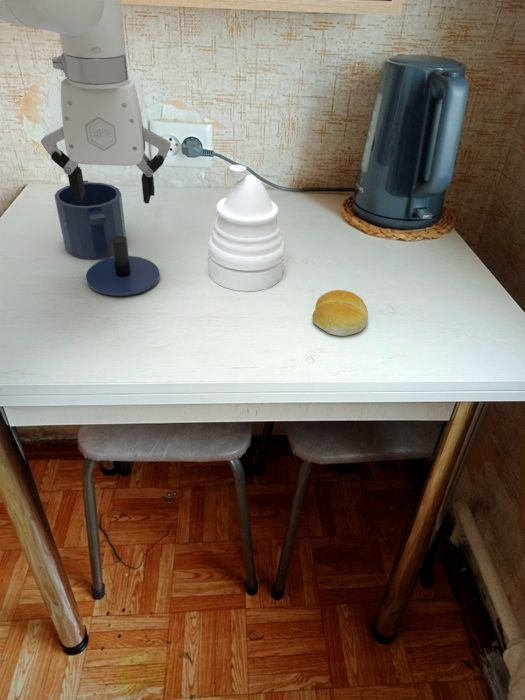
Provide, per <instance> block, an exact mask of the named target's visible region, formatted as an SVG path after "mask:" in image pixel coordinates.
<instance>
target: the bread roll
mask: <svg viewBox="0 0 525 700" xmlns="http://www.w3.org/2000/svg"><path fill="white" fill-rule="evenodd" d="M314 306H315V307H314V308H315V310H314V311H313V313H312V318H311V319H312V322H313V324H315V325H316V326H317V327H318V328H319V329H322V330H323V331H325V332H326V333H328V334H330V335H333V336H339V337H341V336H342V337H343V336H345V337H346V336H352V335H354V334H357V333H360V332H362V331H363V330H364V328H365V327H366V326H367V323H368V322H369V311H368V307H367V305H366V303H365V302H364V300H363V298H361V297H360V296H358V295H357V294H356V293H354V292H352V291H349V290H344V289H336V290H335V289H334V290H331V291H328V292H326V293H323V294H322V295H320V296H319V297H318V299H317V300H316V303H315V305H314Z"/></svg>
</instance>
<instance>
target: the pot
mask: <svg viewBox="0 0 525 700" xmlns="http://www.w3.org/2000/svg"><path fill="white" fill-rule="evenodd" d="M83 182H84V187H85V195H84V197H83V199H82V201H81V202H76V198H75V194H72V193H71V189H70V184H68V185H66V186H63V187H61V188H60V189H58V190H57V191H56V192H55V193H54V195H53V197H54V202H55V206H56V211H57V216H58V220H59V226H60V230H61V231H60V232H61V235H62V240H63V244H64V249H65V251H66V253H67V254H69V255H70V256H72V257H74V258H77V259H81V260H94V261H95V260H105V259H108V258H112V257H113V252H112V245H111V238H112V237H114V236H124V237H126V238H127V232H126V223H125V217H124V215H125V214H124V207H123V197H122V192H121V191H120V189H119V188H118V187H116V186H114V185H112V184H109V183H104V182H94V181H93V182H92V181H89V180H88V179H87V180H86V179H85V180H83Z"/></svg>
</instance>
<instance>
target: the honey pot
mask: <svg viewBox="0 0 525 700" xmlns="http://www.w3.org/2000/svg"><path fill="white" fill-rule="evenodd" d="M228 171H229V175H230V177H231V179H233V180H234V181H236V182H235V183H234V184H233V186H232V187H231V189H230V190H229V192H228V194H227V196H225V197H224V198H223V197H222V198H221V199H220V200H219V201H218V202H216V205H215V211H216V213H217V215H218V216H217V218H216V219H215V221H214V223H213V228H212V231H211V235H210V236H209V239H208V242H207V273H208V276H209V277H210V279H211V280H212V281H213V282H214V283H215V284H217V285H219V286H221V287H223V288H225V289H228V290H233V291H237V292H258V291H263V290H267V289H270V288H272V287H274V286H276V284H278V283H279V282H280V281H281V279H282V277H283V268H284V257H285V242H284V240H283V235H282V232H281V225H280V222H279V221H278V218H277V217H278V216H279V213H280V208H279V206H278V205H277V203H275V202H274V201H273V200H272V199H271V197H270V195H269V192H268V191H267V189H266V187H265V186H264V184H263V182H262V181H261V180H260V179H259V178H258V177H256V176H255V175H254V174H247V167H246V166H245V165H242V164H231V165H230V166H229V167H228Z"/></svg>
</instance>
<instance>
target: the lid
mask: <svg viewBox="0 0 525 700" xmlns="http://www.w3.org/2000/svg"><path fill="white" fill-rule="evenodd" d="M111 245H112V252H113V256H112V257H109V258H104V259H101V260H100V261H97V262H96V263H95V264H93V265H91V266H90V267H89V269H88V270H87V272H86V274H85V281H86V283H87V285H88V286H89V287H90V288H91V289H92V290H93V291H95V292H97V293H100V294H103V295H107V296H116V297H123V296H131V295H136V294H140V293H143V292H146V291H147V290H150V289H151V288H153V287H154V286H155V285H156V284H157V283H158V281H159V280H160V269H159V267H158V266H157V264H155V263H154V262H152V261H151V260H149V259H146V258H143V257H140V256H134V255H133V256H132V255H129V245H128V238H127V236H126V237H124V236H114V237H112V238H111Z"/></svg>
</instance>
